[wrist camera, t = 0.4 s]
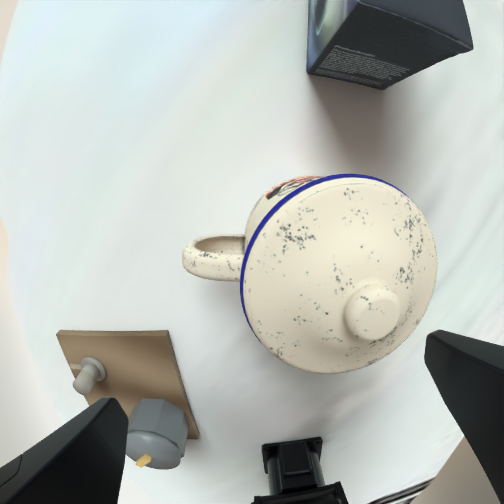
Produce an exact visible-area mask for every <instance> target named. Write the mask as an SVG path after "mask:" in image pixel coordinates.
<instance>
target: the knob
mask: <svg viewBox="0 0 504 504" xmlns="http://www.w3.org/2000/svg"><path fill="white" fill-rule="evenodd" d="M128 420H129V426H128V434H127V444H126V455H127V456H128V457H130V458H131V459H132V460H134V461H136V464H135V465H137V466H139V467H143V466H147V467H150V468H155V469H172V468H175V467H177V466H178V465H179V464H180V460H181V458H182V457H183V456H184V451H185V445H186V439H187V433H188V428H189V424H188V421H187V418H186V415H185V413H184V411H183V410H182V409H180V408H178V407H176V406H175V405H173V404H171V403H169V402H168V401H166V400H164V399H146V398H142V399H141V400H140V401H139V402H138V403H137V404H136V405H135V406H134V407H133V409H132V411H131V414H130V416H129V419H128Z"/></svg>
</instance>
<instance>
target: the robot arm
mask: <svg viewBox="0 0 504 504" xmlns="http://www.w3.org/2000/svg"><path fill="white" fill-rule="evenodd" d="M424 360H425V364H426V366H427V368H428V370H429V372H430V374H431V376H432V378H433V380H434V382H435V384H436V386H437V388H438V390H439V392H440V394H441V396H442V398H443V400H444V402H445V404H446V406H447V407H448V409H449V411H450V412H451V414H452V415H453V417H454V419H455V420H456V422H457V424H458V425H459V427H460V429H461V430H462V432H463V434H464V435H465V437H466V439H467V440H468V442H469V444H470V446H471V447H472V449H473V451H474V453H475V454H476V456H477V458H478V460H479V462H480V464H481V465H482V467H483V469H484V471H485V473H486V475H487V477H488V479H489V481H490V483H491V485H492V486H493V489H494V491H495V493H496V495H497V497H498V499H499V501H500V504H504V346H501V345H497V344H493V343H489V342H485V341H481V340H478V339H474V338H470V337H466V336H462V335H459V334H455V333H451V332H448V331H444V330H437V331H434V332H432V333H429V334H428V335H427V338H426V346H425V355H424ZM128 426H129V420H128V417H127V415H126V413H125V411H124V410H123V408H122V407H121V405H120V403H119V402H118V400H117V399H116V398H115V397H102V398H100V399H99V400H98V401H96V402H95V403H93V404H92V405H91V406H89V407H88V408H87V409H85V410H84V411H82V412H81V413H80V414H78V415H77V416H75V417H74V418H73V419H71V420H70V421H68V422H67V423H66V424H64V425H63V426H62V427H60V428H59V429H57V430H56V431H54V432H53V433H52V434H50V435H49V436H47V437H46V438H44V439H43V440H41V441H40V442H39V443H37V444H36V445H34V446H33V447H32V448H30V449H29V450H27V451H25V452H24V453H23V454H21V455H19V456H18V457H16V458H15V459H13V460H12V461H10V462H9V463H7V464H6V465H4V466H2V467H1V468H0V504H117V502H118V496H119V491H120V485H121V480H122V475H123V470H124V464H125V455H126V444H127V434H128ZM322 443H323V441H322V438H321V437H316V438H310V439H304V440H297V441H290V442H281V443H272V444H264V445H262V454H263V462H264V469H265V473H266V474H268V477H269V488H270V495H269V496H254V502H252V503H251V504H348V501H347V498H346V496H345V493H344V490H343V488H342V485H341V482H340V481H339V482H335V483H334V484H330V485H326V486H325V483H324V478H323V474H322V470H321V466H320V456H321V449H322Z"/></svg>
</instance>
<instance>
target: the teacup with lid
mask: <svg viewBox="0 0 504 504" xmlns="http://www.w3.org/2000/svg"><path fill="white" fill-rule="evenodd" d="M182 263H183V266H184V268H185V269H186V271H188V272H189V273H191V274H193V275H195V276H198V277H201V278H204V279H210V280H217V281H237V282H240V295H241V302H242V307H243V311H244V314H245V316H246V319H247V322H248V324H249V326H250V328H251V329H252V331H253V333H254V334H255V336H256V337H257V338H258V339H259V341H260V342H261V343H262V344H263V345H264V346H265V347H266V348H267V349H268V350H269V351H270V352H271V353H272V354H273V355H274V356H276V357H277V358H279V359H280V360H282V361H283V362H285V363H287V364H289V365H291V366H293V367H296V368H299V369H301V370H305V371H309V372H315V373H325V374H332V373H343V372H348V371H353V370H356V369H360V368H363V367H365V366H368V365H370V364H372V363H375V362H377V361H378V360H380V359H382V358H384V357H385V356H387V355H388V354H390V353H391V352H392V351H394V350H395V349H396V348H397V347H398V346H400V345H401V344H402V343H403V342H404V341H405V340H406V339H407V338H408V337H409V336H410V334H411V333H412V332H413V331H414V329H415V328H416V327H417V325H418V324H419V322H420V321H421V319H422V317H423V316H424V314H425V312H426V310H427V308H428V305H429V303H430V300H431V298H432V294H433V291H434V287H435V282H436V275H437V254H436V247H435V243H434V239H433V235H432V233H431V230H430V227H429V225H428V223H427V221H426V219H425V217H424V216H423V214H422V213H421V211H420V210H419V209H418V207H417V206H416V205H415V204H414V203H413V201H412V200H411V199H410V198H409V197H408V196H407V195H406V194H404V193H403V192H402V191H401V190H399V189H398V188H396V187H395V186H393V185H391V184H389V183H387V182H385V181H383V180H381V179H378V178H374V177H371V176H366V175H360V174H338V175H331V176H327V177H320V176H299V177H294V178H290V179H287V180H285V181H282V182H280V183H278V184H277V185H275V186H273V187H272V188H271V189H269V190H268V191H267V192H266V193H265V194H264V195H263V196H262V197H261V198H260V199H259V200H258V202H257V203H256V204H255V206H254V208H253V209H252V211H251V213H250V216H249V218H248V221H247V224H246V229H245V235H242V234H219V235H210V236H204V237H200V238H197V239H195V240H192V241H191V242H189V243H188V244H186V245H185V247H184V248H183V252H182Z"/></svg>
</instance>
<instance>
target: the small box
mask: <svg viewBox="0 0 504 504" xmlns="http://www.w3.org/2000/svg"><path fill="white" fill-rule="evenodd" d="M471 50H473V41H472V37H471V32H470V27H469V23H468V19H467V15H466V11H465V7H464V4H463V0H309V13H308V46H307V69H306V70H307V73H308V74H312V75H317V76H323V77H328V78H333V79H338V80H343V81H347V82H351V83H356V84H360V85H364V86H368V87H372V88H376V89H379V90H385V89H387V88H388V87H390V86H392V85H393V84H395V83H397V82H399V81H401V80H403V79H405V78H407V77H409V76H411V75H413V74H415V73H417V72H419V71H421V70H424V69H426V68H428V67H430V66H432V65H434V64H436V63H438V62H441V61H443V60H445V59H448V58H450V57H453V56H456V55H458V54H460V53H466V52H469V51H471Z"/></svg>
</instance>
